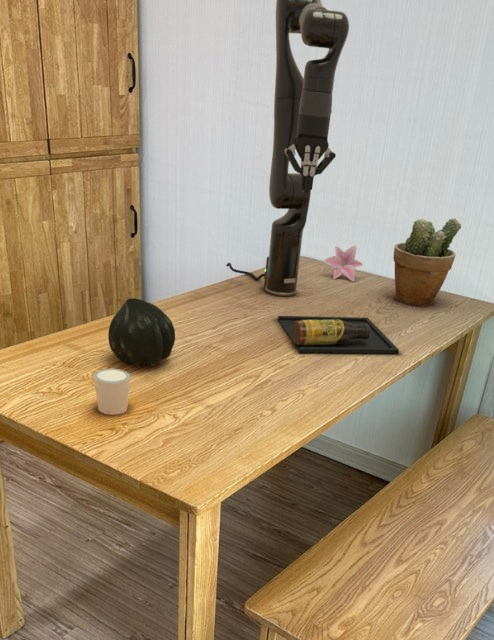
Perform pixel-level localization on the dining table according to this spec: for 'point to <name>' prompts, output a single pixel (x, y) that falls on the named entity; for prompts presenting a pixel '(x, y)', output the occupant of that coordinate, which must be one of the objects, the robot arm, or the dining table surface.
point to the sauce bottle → (327, 332)
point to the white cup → (112, 390)
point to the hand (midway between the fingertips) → (305, 192)
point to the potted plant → (423, 262)
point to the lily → (344, 262)
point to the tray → (354, 346)
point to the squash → (141, 333)
